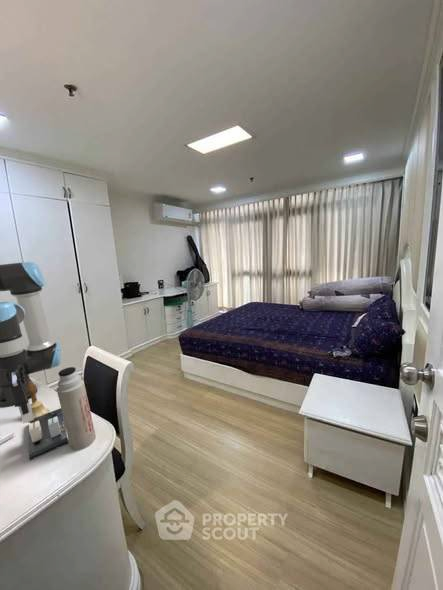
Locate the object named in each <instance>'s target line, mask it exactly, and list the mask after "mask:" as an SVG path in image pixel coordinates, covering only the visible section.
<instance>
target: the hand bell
mask: <svg viewBox="0 0 443 590" xmlns="http://www.w3.org/2000/svg"><path fill="white" fill-rule="evenodd" d="M33 383H34V381H33V380H32V381H29V382H28V387H27V389H28V392H29V394H30V395H31V399H30V400H31V403H30V405H31V408H32V412H33V416H34V418H36V417H39V416H42V415H44V414H47V413H49V412H51V410H50V409H49V408H47V407H45V406H44V404H43V402H42V401H40V400H39V401H38V399H37V393H36V388H35V385H36V384H35V383H34V384H35V385H34V384H33ZM35 393H36V394H35ZM28 423H30V421H29V422H28Z"/></svg>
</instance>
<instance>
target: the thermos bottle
mask: <svg viewBox="0 0 443 590" xmlns="http://www.w3.org/2000/svg"><path fill="white" fill-rule="evenodd" d="M76 370H77V369H76V367H74V366H71V367H66V368H63V369H61V370H59V372H58V376H59V381H58V382H57V386H58V387H57V389H56V391H57V392H56V393H57V397H58V400H59V406H60V408H61V409H62V414H63V418H64V422H65V426H66V432H67V438H68V443H69V447H70V449H71V450H72V451H81V450H84V449H86V448H88V447H90V446H91V445H92V444H93V443H94V442H95V440H96V431H95V426H94V422H93V417H92V413H91V407H90V404H89V399H88V395H87V391H86V386H85V381H84V379H82V377H81V375H80V374H78V373H77V371H76Z"/></svg>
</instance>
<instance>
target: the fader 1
mask: <svg viewBox="0 0 443 590" xmlns="http://www.w3.org/2000/svg"><path fill="white" fill-rule="evenodd" d="M28 432H29V433H30V436H31V439H32V443H33V442H35V441H36V442H39V441H40V439H42V430H41V426H40V422H39V421H36V422H34V423H31V424H30V423H29V426H28Z"/></svg>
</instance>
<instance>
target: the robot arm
mask: <svg viewBox="0 0 443 590" xmlns="http://www.w3.org/2000/svg"><path fill="white" fill-rule="evenodd" d="M45 284H46V283H45V280H44V277H43V273H42V272H41V270H40V267H39V266H38V264H36V263H35V262H31V261H29V262H22V261H21V262H15V263H14V262H13V263H5V264H0V292H6V291H7V292H8V291H9V292H10V295H11V296H13V297H15V298H16V301H17V303H13V302H12V301H0V407H2V408H7V407H13V406H14V408H18V410H19V413H20V417H21V421H22V424H26V423H30V422H29V421H32V420H34V416H33V412H32V408H31V402H30V401H31V400H32V399H31V395H30V394H29V392H28V389H27V387H28V382H29V381H32V382H33V380H32V379H31V378H30V374H31V375H32V374H34V373H39V372H43V371H46V370H52V368H57V367H59V366H60V365H61V360H62V359H61V346H60V345H61V344H60V343H58V342H56V340H55V339H53V338H52V337H51V335H50V330H49V326H48V323H47V318H46V315H45V314H46V313H45V311H44V308H43V307H44V306H43V303H42V300H41V296H40V293H41V292H42V291H43V288H42V287H45ZM22 322H23V326H24V328H25V333H26V335H27V339H28V345H27V347H26V344H25V340H24V336H23V335H22V334H23V333H22V329H21V326H20V324H21V323H22ZM25 348H26V349H25ZM33 384H34V385H35V388H36V393H35V395H37V394H38V387H37V385H36V384H35V383H34V382H33Z"/></svg>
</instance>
